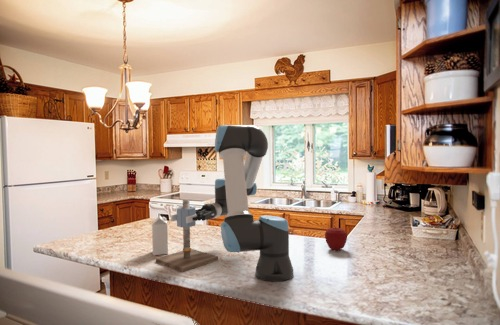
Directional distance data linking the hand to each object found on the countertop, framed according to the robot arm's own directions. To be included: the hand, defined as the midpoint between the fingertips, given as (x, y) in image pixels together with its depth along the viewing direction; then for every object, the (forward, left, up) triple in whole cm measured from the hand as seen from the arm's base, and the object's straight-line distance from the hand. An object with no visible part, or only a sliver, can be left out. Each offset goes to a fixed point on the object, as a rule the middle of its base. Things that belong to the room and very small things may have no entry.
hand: (179, 219), depth 143 cm
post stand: (+1, -5, -20) cm, 21 cm away
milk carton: (+21, -4, -20) cm, 29 cm away
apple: (-44, -63, -20) cm, 79 cm away
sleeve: (+1, -5, -4) cm, 6 cm away
